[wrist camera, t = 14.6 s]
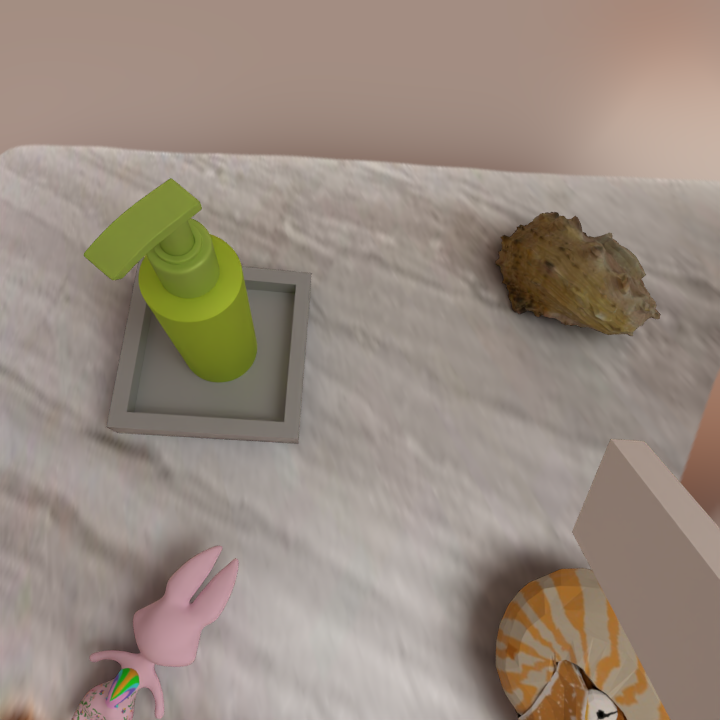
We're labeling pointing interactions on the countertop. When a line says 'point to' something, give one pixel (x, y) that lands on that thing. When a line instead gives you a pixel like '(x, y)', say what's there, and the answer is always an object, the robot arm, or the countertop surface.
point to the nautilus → (571, 654)
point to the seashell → (574, 276)
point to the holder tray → (218, 399)
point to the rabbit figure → (162, 638)
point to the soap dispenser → (184, 280)
